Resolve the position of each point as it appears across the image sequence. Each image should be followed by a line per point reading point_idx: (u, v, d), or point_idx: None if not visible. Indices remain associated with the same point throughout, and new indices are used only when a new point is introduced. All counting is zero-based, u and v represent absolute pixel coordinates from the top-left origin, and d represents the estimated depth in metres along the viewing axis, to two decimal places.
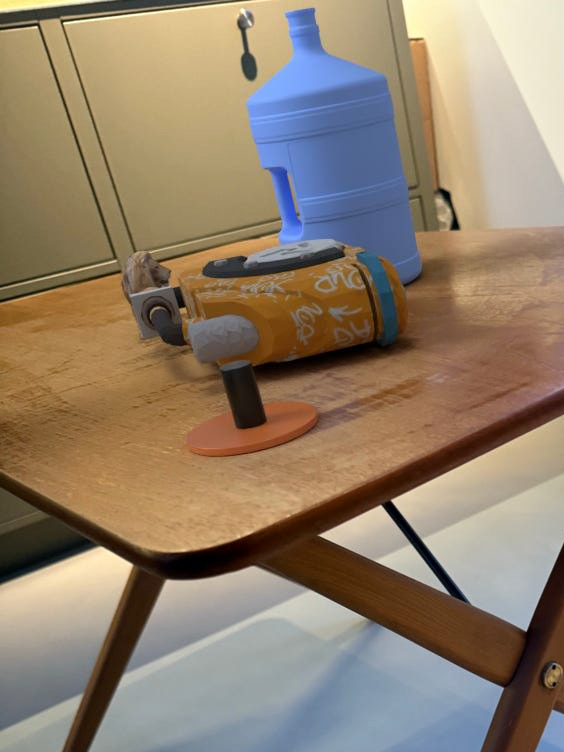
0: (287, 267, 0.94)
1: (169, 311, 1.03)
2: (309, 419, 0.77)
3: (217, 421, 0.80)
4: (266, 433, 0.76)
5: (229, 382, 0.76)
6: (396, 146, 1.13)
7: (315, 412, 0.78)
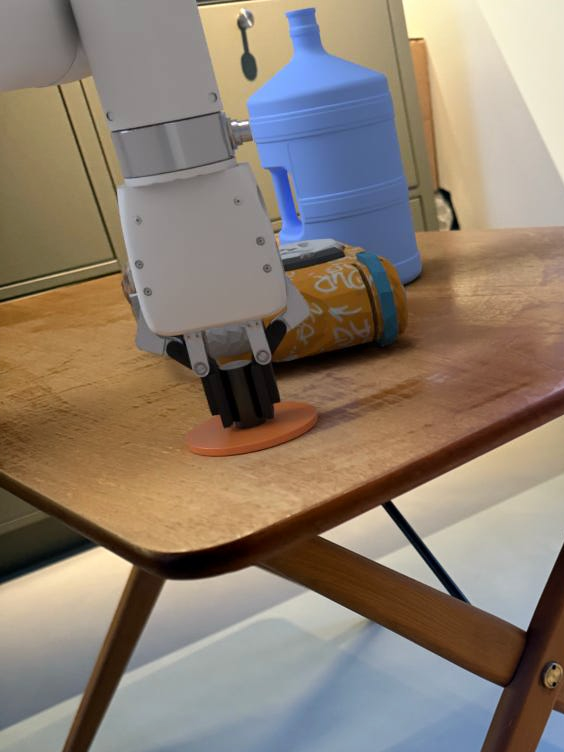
0: (287, 267, 0.94)
1: None
2: (309, 419, 0.77)
3: (217, 421, 0.80)
4: (265, 433, 0.76)
5: (229, 382, 0.76)
6: (396, 146, 1.13)
7: (315, 412, 0.78)
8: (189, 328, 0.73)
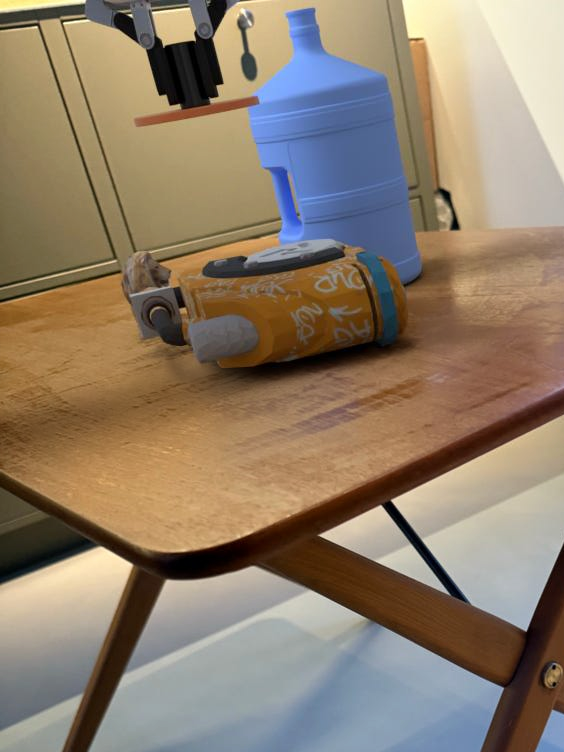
0: (287, 267, 0.94)
1: (169, 311, 1.03)
2: (249, 97, 0.82)
3: None
4: (207, 105, 0.81)
5: (173, 57, 0.81)
6: (396, 146, 1.13)
7: (256, 96, 0.83)
8: None
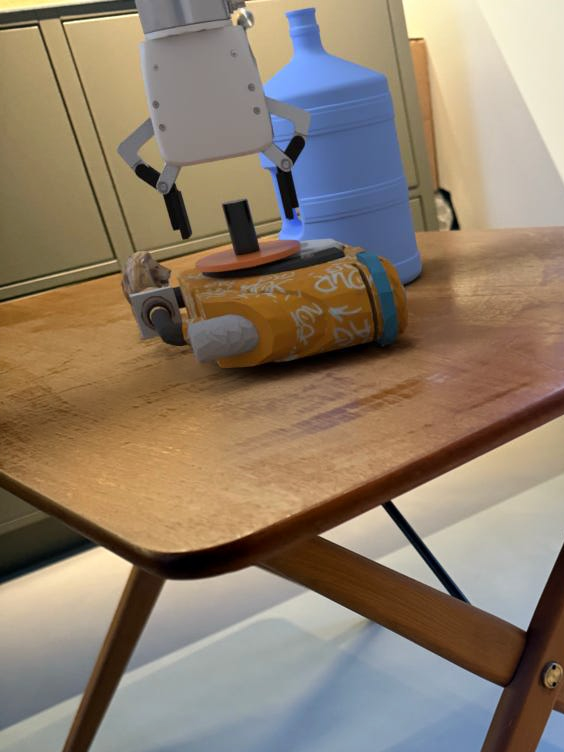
0: (287, 267, 0.94)
1: (169, 311, 1.03)
2: (294, 246, 0.96)
3: (220, 253, 1.00)
4: (259, 254, 0.95)
5: (229, 214, 0.95)
6: (396, 146, 1.13)
7: (298, 242, 0.98)
8: (195, 159, 0.92)
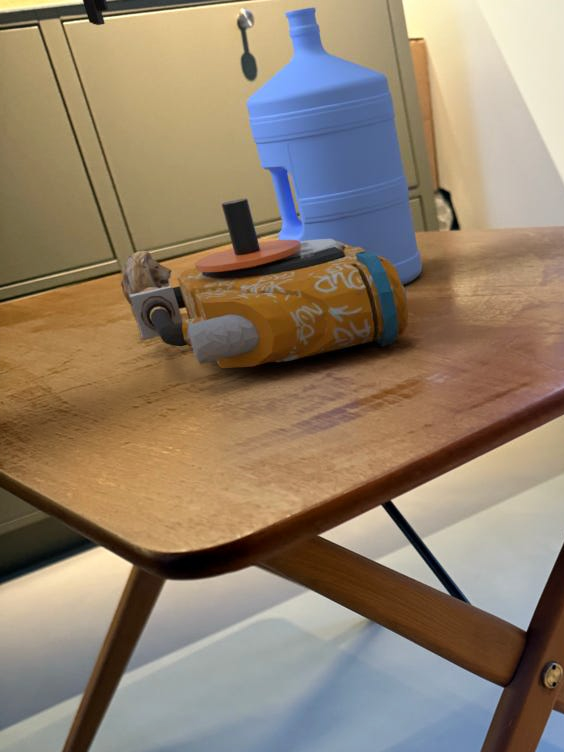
0: (287, 267, 0.94)
1: (169, 311, 1.03)
2: (294, 246, 0.96)
3: (220, 253, 1.00)
4: (259, 255, 0.95)
5: (229, 214, 0.95)
6: (396, 146, 1.13)
7: (298, 243, 0.98)
8: None
